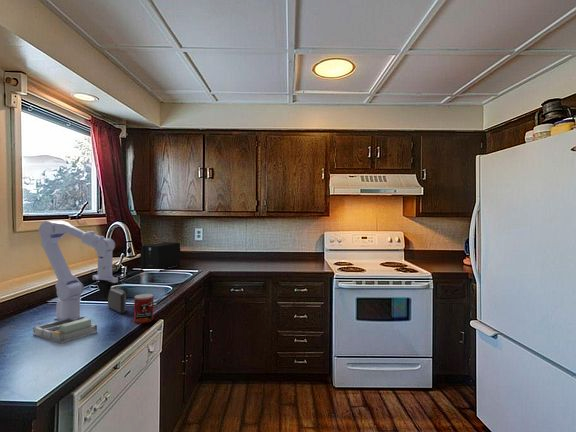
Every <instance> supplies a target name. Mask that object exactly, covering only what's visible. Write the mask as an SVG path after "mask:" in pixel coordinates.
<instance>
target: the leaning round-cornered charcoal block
mask: <svg viewBox="0 0 576 432" xmlns="http://www.w3.org/2000/svg"><path fill="white" fill-rule="evenodd" d="M126 298H127V293H126V291H124V290H123V289H119V288H111V289H110V292H109V295H108V297H107V307H108V308H109V309H112V310H113V311H115V312H117V313H119V314H125V312H126V309H127V299H126Z"/></svg>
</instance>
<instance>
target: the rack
mask: <svg viewBox="0 0 576 432" xmlns="http://www.w3.org/2000/svg"><path fill="white" fill-rule="evenodd" d="M77 320H78V319H76V320H75V319H71V318H67V319H63V320H56V321H51V322H49V323H44V324H41V325H37V326H33V328H32V329H33V331H32V333H33V335H34V336H37V337H40V338H44V339H46V340H49V341H53V342H55V343H59V344H64V343H68V342H71V341H73V340H76V339H80V338H83V337H86V336H89V335H90V336H91V335H93V334H95V333H98V325H97V324H95V323H91V326H90V327H86V328H83V329H79V330H76V331H73V332H69V333H66V334H61V332H60V325H62V324H66V323H70V322H73V321H77Z"/></svg>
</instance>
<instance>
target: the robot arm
mask: <svg viewBox="0 0 576 432" xmlns="http://www.w3.org/2000/svg"><path fill="white" fill-rule="evenodd" d="M37 231H38V233H39V235H40V241H41V242H40V243H41V246H42V248H43V250H44V252H45V255H46V257H47V260H48V261H49V264H50V265H51V267H52V270H53V271H54V274H55V276H56V279H57V282H56V284H55V285H54V286H55V290H56V296H57V297H58V298H59V299H58V300H57V302H56V306H55V307H56V311H55V313H56V317H53V318H54V320H57V321H59V320H63V319H67V318H71V319H75V320H80V319H84V318H85V316H84V315H81V295H82V294H83V292H84V289H85V286H84V284H83V282H81V281H80V280H79V278H78V277H77V276H75V275H73V273H72V271H71V270H70V268H69V266H68V265H69V264H68V263H67V260H66V258H65V256H64V255H63V252H62V250H61V248H60V246H59V244H58V243H59V241H60V240H61V239H62V237H64V235H65V234H67V235H68V236H72V237H75V238H76V239H77V238H78V239H80V240H81V242H82V244H84V245H87V246H88V247H91V248H93V249H94V250H95V252H96V256H97V274H92V281H95V280H96V281H97V282H95V283H96V285H97V287H98V289H99V292H100V296H101V297H100V298H101V299H108V295H109V292H110V289H112V286H113V285H114V284H116V283H119V278H118V277H116V276H114V275H113V251H114V249H115V248H116V242H115V240H113V239H112V238H111V237H108V238H105V236H104V235H99V234H96V232H95V231H93V230H91V231H88V230H87V231H86V232H85V231H84V230H82V229H80V228H78V227H76V226H74V225H72V224H70V223H69V222H68V221H65V220H44V221H43V222H41V223H40V225H39V227H38V230H37Z"/></svg>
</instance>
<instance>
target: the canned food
mask: <svg viewBox="0 0 576 432" xmlns="http://www.w3.org/2000/svg"><path fill="white" fill-rule="evenodd" d="M133 299H134V303H133V304H134V308H133V310H134V312H133V313H134V314H133V315H134V319H133V320H134V322H135V324H148V323H150V322H153V320H154V295H153V294H152V293H140V294H136V295H135V296H134V298H133Z"/></svg>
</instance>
